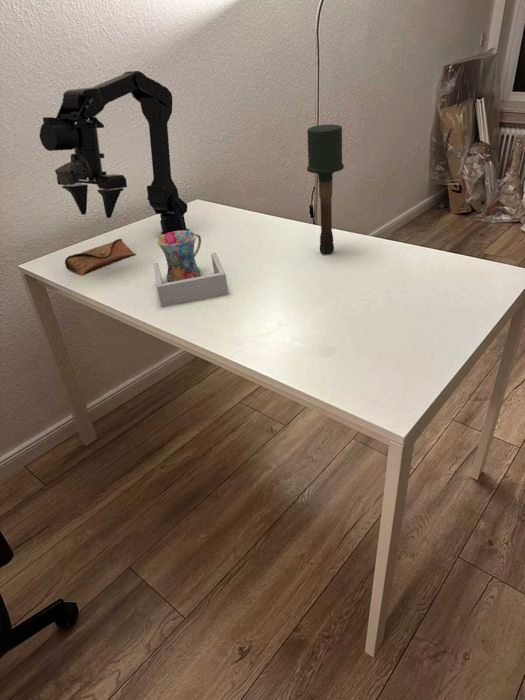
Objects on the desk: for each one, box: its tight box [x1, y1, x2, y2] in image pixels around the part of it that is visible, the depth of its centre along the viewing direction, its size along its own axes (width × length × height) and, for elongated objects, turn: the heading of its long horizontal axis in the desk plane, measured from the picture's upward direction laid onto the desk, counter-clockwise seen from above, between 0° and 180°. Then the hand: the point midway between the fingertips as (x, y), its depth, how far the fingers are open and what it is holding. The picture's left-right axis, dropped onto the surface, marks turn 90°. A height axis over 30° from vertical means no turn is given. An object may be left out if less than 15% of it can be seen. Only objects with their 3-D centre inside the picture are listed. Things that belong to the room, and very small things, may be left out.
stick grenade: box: [306, 123, 345, 255], centre depth 118 cm, size 8×9×30 cm
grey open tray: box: [153, 252, 229, 308], centre depth 115 cm, size 14×15×5 cm
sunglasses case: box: [64, 238, 137, 277], centre depth 135 cm, size 18×7×7 cm
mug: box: [156, 230, 202, 282], centre depth 119 cm, size 12×9×11 cm
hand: (96, 216), depth 123 cm, fingers open, 9 cm apart
